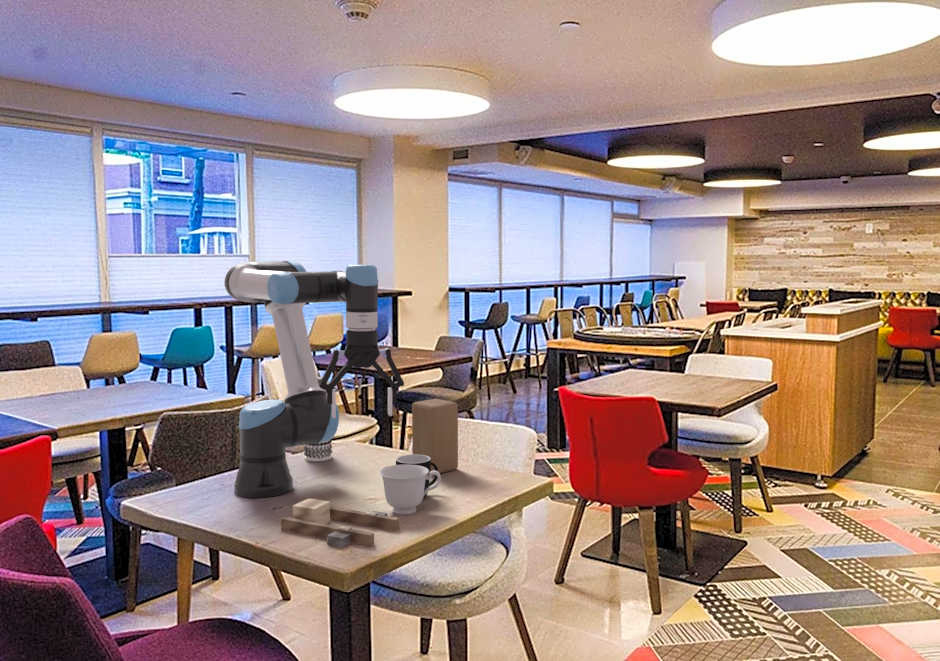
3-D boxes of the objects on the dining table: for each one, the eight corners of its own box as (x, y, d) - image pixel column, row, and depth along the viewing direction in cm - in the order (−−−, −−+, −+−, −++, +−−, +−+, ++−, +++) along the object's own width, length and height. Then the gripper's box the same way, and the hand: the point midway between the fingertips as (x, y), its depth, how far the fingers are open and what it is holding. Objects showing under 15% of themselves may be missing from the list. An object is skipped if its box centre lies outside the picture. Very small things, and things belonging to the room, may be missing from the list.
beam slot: (272, 533, 170) (272, 521, 170) (321, 509, 186) (321, 498, 186) (362, 551, 160) (362, 538, 160) (406, 524, 176) (405, 512, 176)
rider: (293, 526, 175) (292, 505, 175) (309, 518, 181) (309, 498, 180) (314, 530, 173) (314, 509, 172) (330, 522, 178) (329, 501, 178)
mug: (407, 504, 190) (407, 465, 189) (389, 495, 198) (389, 457, 197) (447, 496, 197) (447, 457, 196) (428, 487, 204) (428, 450, 204)
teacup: (442, 518, 180) (441, 476, 179) (378, 519, 179) (378, 478, 178) (440, 502, 192) (439, 463, 191) (380, 503, 191) (380, 464, 190)
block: (437, 463, 229) (437, 397, 228) (459, 469, 222) (459, 402, 220) (411, 469, 223) (410, 401, 221) (433, 476, 215) (432, 406, 213)
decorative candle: (336, 454, 240) (335, 375, 237) (328, 461, 231) (327, 380, 228) (308, 453, 241) (306, 375, 238) (299, 461, 231) (297, 380, 229)
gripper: (309, 331, 176) (310, 421, 178) (415, 330, 182) (415, 417, 184) (308, 328, 183) (309, 414, 185) (410, 326, 189) (410, 410, 191)
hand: (362, 416), depth 185 cm, fingers open, 13 cm apart
